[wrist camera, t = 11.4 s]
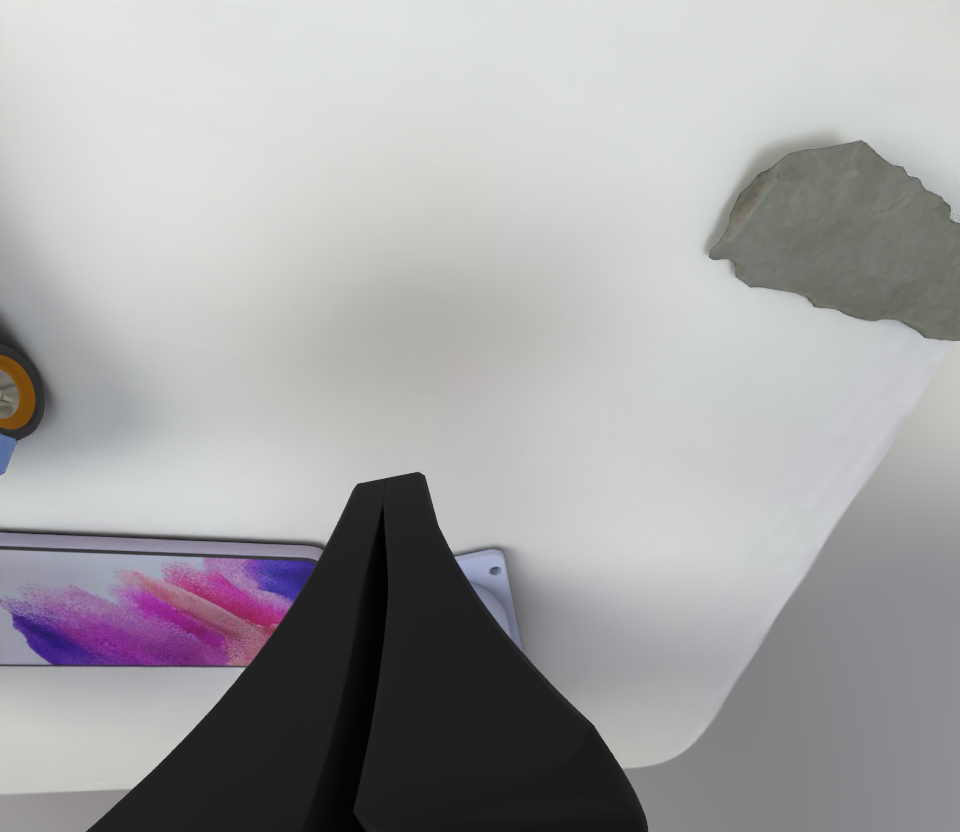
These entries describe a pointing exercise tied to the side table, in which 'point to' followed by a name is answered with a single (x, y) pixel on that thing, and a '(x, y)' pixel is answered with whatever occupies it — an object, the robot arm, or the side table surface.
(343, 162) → the side table surface
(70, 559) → the smartphone
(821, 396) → the side table surface
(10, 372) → the toy car
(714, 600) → the side table surface
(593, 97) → the side table surface
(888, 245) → the stone
